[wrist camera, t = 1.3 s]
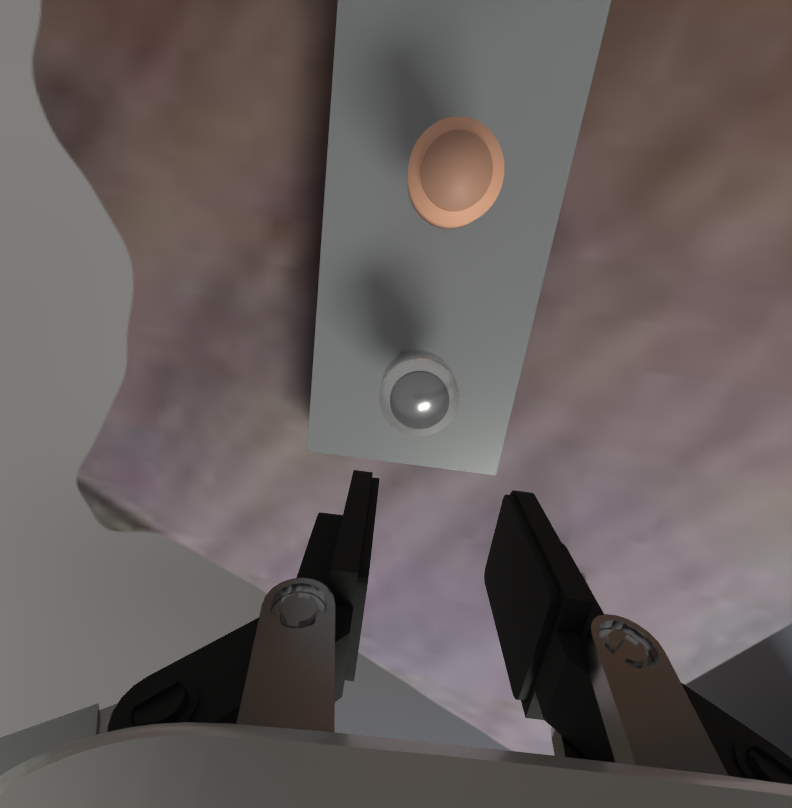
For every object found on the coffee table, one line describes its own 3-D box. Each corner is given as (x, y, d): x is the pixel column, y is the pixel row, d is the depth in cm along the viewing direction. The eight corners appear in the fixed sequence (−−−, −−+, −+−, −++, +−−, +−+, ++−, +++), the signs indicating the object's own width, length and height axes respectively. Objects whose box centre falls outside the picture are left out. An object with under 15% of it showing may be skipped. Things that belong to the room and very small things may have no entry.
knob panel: (622, -145, 22) (666, -228, 18) (485, 451, 34) (495, 475, 30) (365, -189, 22) (357, -283, 18) (317, 429, 34) (306, 451, 30)
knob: (454, 344, 27) (468, 367, 21) (443, 407, 28) (452, 443, 23) (388, 335, 27) (383, 355, 21) (379, 398, 28) (374, 433, 23)
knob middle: (489, 154, 23) (516, 121, 18) (473, 237, 25) (494, 231, 19) (412, 143, 23) (415, 106, 18) (401, 227, 25) (401, 217, 19)
